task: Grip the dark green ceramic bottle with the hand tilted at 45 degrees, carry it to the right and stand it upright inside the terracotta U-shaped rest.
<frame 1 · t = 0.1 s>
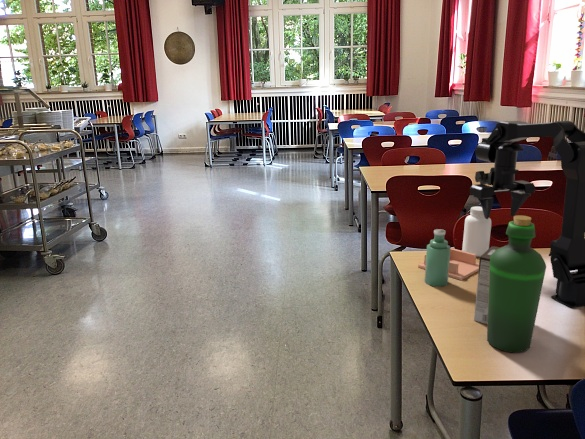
hand: (499, 217, 146), 15 cm above the table, tool pointing down, fingers open, 9 cm apart
bottle: (436, 282, 137), on the table
pill bottle: (475, 253, 159), on the table
bottle 2: (507, 344, 105), on the table
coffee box: (493, 318, 116), on the table
u rest: (451, 267, 147), on the table
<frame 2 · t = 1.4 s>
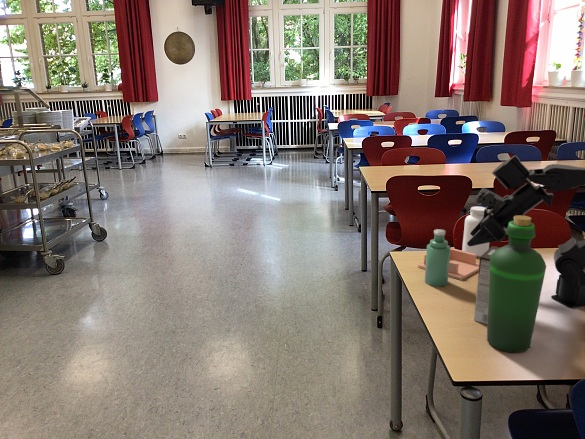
hand: (469, 239, 130), 13 cm above the table, tool tilted 45°, fingers open, 9 cm apart
nothing on the table moved.
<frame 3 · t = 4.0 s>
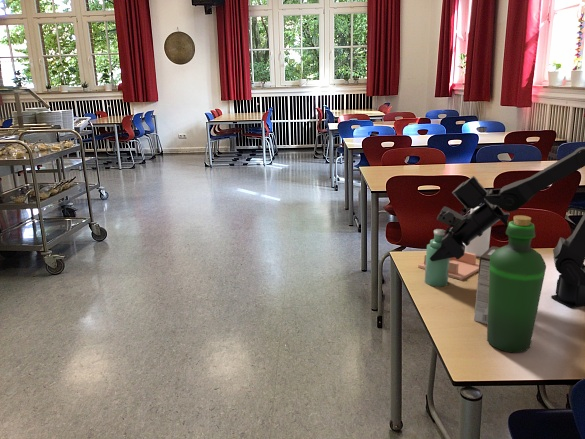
hand: (432, 255, 135), 8 cm above the table, tool tilted 45°, fingers closed on bottle, 6 cm apart
bottle: (436, 282, 137), on the table, touching gripper
everything else where it was.
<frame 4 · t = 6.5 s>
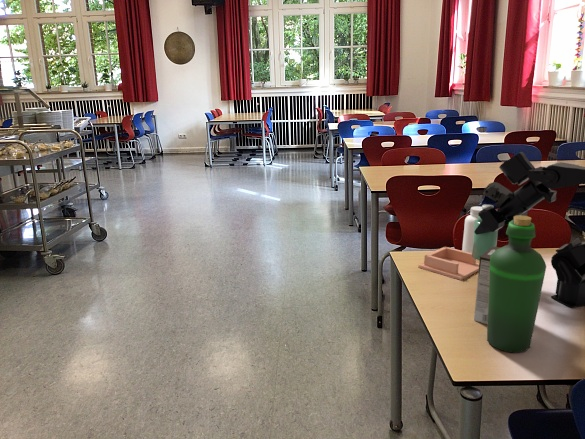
hand: (481, 230, 138), 13 cm above the table, tool tilted 45°, fingers closed on bottle, 6 cm apart
bottle: (483, 257, 139), point 6 cm above the table, touching gripper
everything else where it was.
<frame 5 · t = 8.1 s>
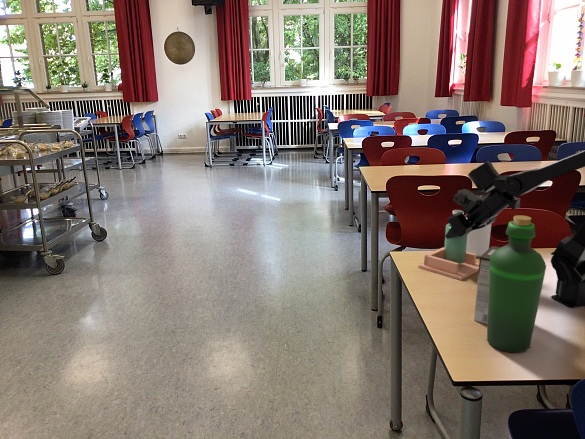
hand: (452, 234, 145), 10 cm above the table, tool tilted 45°, fingers closed on bottle, 6 cm apart
bottle: (454, 260, 146), point 3 cm above the table, touching gripper
everything else where it was.
when the fingers open (10 cm above the table, at t = 9.5 s): bottle drops 1 cm, resting on u rest.
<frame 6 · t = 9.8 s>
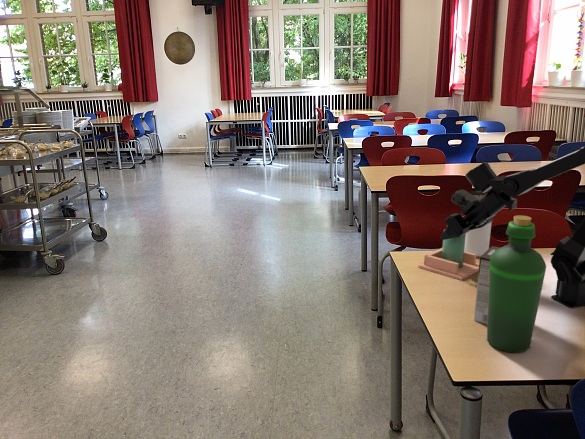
hand: (449, 235, 145), 10 cm above the table, tool tilted 45°, fingers open, 9 cm apart
bottle: (452, 264, 147), point 1 cm above the table, touching u rest
everything else where it was.
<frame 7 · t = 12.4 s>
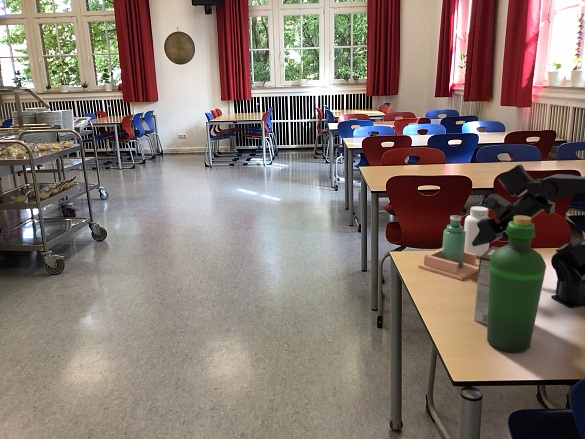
hand: (481, 242, 139), 10 cm above the table, tool tilted 45°, fingers open, 9 cm apart
nothing on the table moved.
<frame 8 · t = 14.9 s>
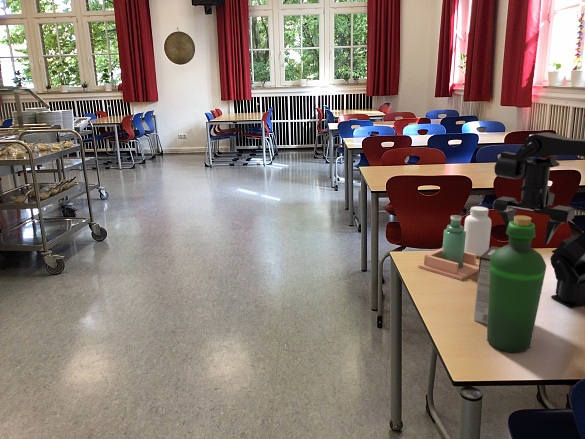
hand: (528, 240, 130), 13 cm above the table, tool pointing down, fingers open, 9 cm apart
nothing on the table moved.
at the end: bottle 0.2 cm off-centre on the u rest, point 0.8 cm above the u rest's base; bottle tilted 0°; the gripper is holding nothing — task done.
